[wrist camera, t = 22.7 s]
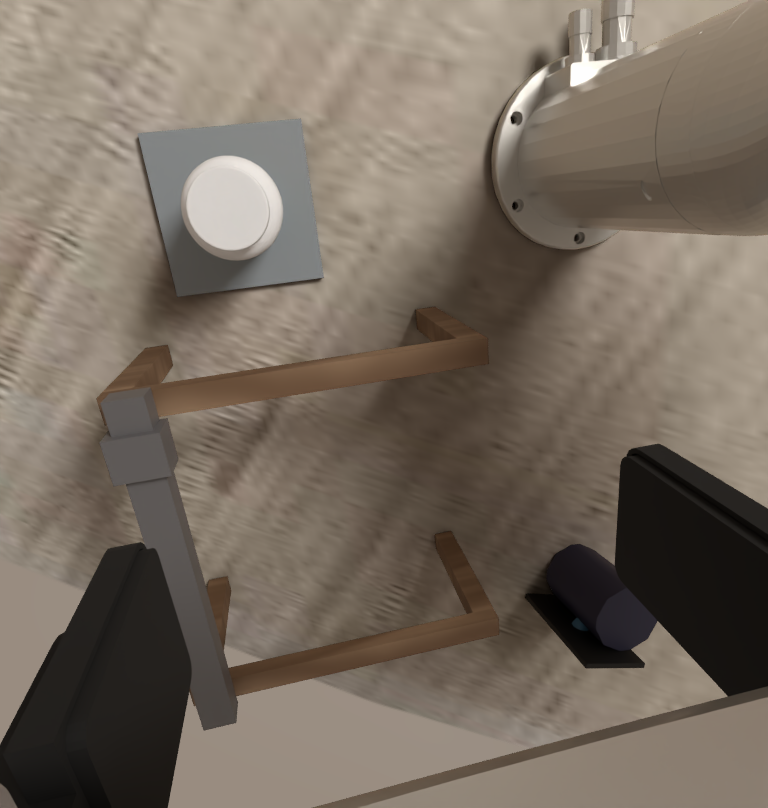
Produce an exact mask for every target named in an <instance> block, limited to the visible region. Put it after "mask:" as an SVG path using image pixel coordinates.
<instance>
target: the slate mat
mask: <svg viewBox="0 0 768 808" xmlns="http://www.w3.org/2000/svg"><path fill="white" fill-rule="evenodd" d="M138 137H139V141H140V145H141V149H142V153H143V157H144V162H145V166H146V170H147V174H148V178H149V182H150V186H151V190H152V195H153V199H154V203H155V207H156V211H157V215H158V219H159V223H160V227H161V232H162V236H163V240H164V244H165V248H166V252H167V256H168V260H169V265H170V269H171V273H172V277H173V281H174V285H175V289H176V293H177V297H180V296H188V295H196V294H203V293H211V292H218V291H226V290H233V289H241V288H249V287H256V286H264V285H271V284H279V283H287V282H294V281H302V280H309V279H317V278H324V276H323V269H322V262H321V255H320V248H319V241H318V234H317V227H316V220H315V214H314V207H313V200H312V193H311V186H310V179H309V172H308V165H307V158H306V151H305V144H304V137H303V130H302V123H301V119H291V120H280V121H269V122H258V123H247V124H236V125H225V126H214V127H203V128H192V129H181V130H170V131H159V132H148V133H138ZM218 156H237V157H241V158H244V159H247V160H249V161H251V162H253V163H255V164H257V165H258V166H259V167H261V168H262V169H263V170H264V171H265V172H266V173H267V174H268V175H269V176H270V177H271V178H272V180H273V181H274V183H275V184H276V186H277V188H278V190H279V193H280V196H281V199H282V204H283V221H282V226H281V229H280V232H279V234H278V236H277V238H276V240H275V241H274V243H273V244H272V245H271V246H270V247H269V248H268V249H267V250H266V251H264V252H263V253H262V254H260V255H258V256H256V257H253V258H251V259H247V260H239V261H235V260H226V259H222V258H219V257H217V256H214V255H212V254H211V253H209V252H207V251H206V250H204V249H203V248H202V247H201V246H200V245H199V244H198V243H197V242H196V241H195V240H194V239H193V238H192V236H191V235H190V233H189V231H188V230H187V228H186V225H185V223H184V220H183V217H182V211H181V194H182V190H183V187H184V184H185V182H186V180H187V178H188V176H189V175H190V173H191V172H192V171H193V170H194V169H195V168H196V167H197V166H199V165H200V164H201V163H203V162H204V161H206V160H208V159H211V158H214V157H218Z"/></svg>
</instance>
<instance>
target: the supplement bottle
mask: <svg viewBox="0 0 768 808" xmlns="http://www.w3.org/2000/svg"><path fill="white" fill-rule="evenodd" d="M181 211H182V217H183V220H184V223H185V225H186V228H187V230H188V231H189V233H190V235H191V236H192V238H193V239H194V240H195V241H196V242H197V243H198V244H199V245H200V246H201V247H202V248H203V249H204V250H206V251H207V252H209V253H211V254H212V255H214V256H217V257H219V258H222V259H226V260H235V261H239V260H247V259H251V258H253V257H256V256H258V255H260V254H262V253H263V252H264V251H266V250H267V249H268V248H269V247H270V246H271V245H272V244H273V243H274V241H275V240H276V238H277V236H278V234H279V232H280V229H281V226H282V221H283V204H282V199H281V196H280V193H279V190H278V188H277V186H276V184H275V183H274V181H273V180H272V178H271V177H270V176H269V175H268V174H267V173H266V172H265V171H264V170H263V169H262V168H261V167H259V166H258V165H257V164H255V163H253V162H251V161H249V160H247V159H244V158H241V157H237V156H218V157H214V158H211V159H208V160H206V161H204V162H203V163H201V164H200V165H199V166H197V167H196V168H195V169H194V170H193V171H192V172H191V173H190V175H189V176H188V178H187V180H186V182H185V184H184V187H183V190H182V194H181Z"/></svg>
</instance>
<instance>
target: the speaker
mask: <svg viewBox="0 0 768 808" xmlns="http://www.w3.org/2000/svg"><path fill="white" fill-rule="evenodd" d="M547 582H548V584H549V586H550V588H551V590H552V592H553V594H554V595H553V594H526V596H525V598H526V599H527V600H528V602H529V603H530V604H531V605H532V606H533V607H534V609H535V610H536V611H537V612H538V613H539V614H540V616H541V617H542V618H543V619H544V620H545V621H546V622H547V624H548V625H549V626H550V627H551V628H552V629H553V631H554V632H555V633H556V634H557V635H558V636H559V638H560V639H561V640H562V641H563V642H564V643H565V645H566V646H567V647H568V648H569V649H570V650H571V652H572V653H573V654H574V655H575V656H576V657H577V659H578V660H579V661H580V662H581V663H582V664H583V666H584V667H585V668H644V665H645V663H644V662H643V661H642V660H641V659H640V658H639V657H638V656H637V655H636V654H635V653H634V652H633V651H632V650H631V649H632V648H634V647H635V646H637V645H638V644H640V643H642V642H643V641H645V640H646V639H648V637H649V635H650V633H651V632H652V630H653V628H654V626H655V624H656V623H657V621H658V620H657V619H656V618H655V617H654V616H653V615H652V614H651V613H650V612H649V611H648V610H647V609H646V608H645V606H644V605H643V604H642V603H641V602H640V601H639V600H638V599H637V598H636V597H635V596H634V595H633V594H632V593H631V591H630V590H629V589H628V588H627V587H626V586H625V585H624V584H623V583H622V582H621V580H620V579H619V577H618V575H617V572H616V568H615V566H614V565H613V564H612V563H610V562H609V561H608V560H606V559H605V558H604V557H602V556H601V555H600V554H598V553H597V552H596V551H595V550H592V549H590V548H588V547H586V546H583V545H581V544H575V545H570V546H569V547H567V548H565V549H564V550H562V551H560V552H559V553H557V554H556V555H555V556H554V558H553V560H552V562H551V564H550V566H549V568H548V570H547Z"/></svg>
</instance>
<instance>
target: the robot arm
mask: <svg viewBox="0 0 768 808" xmlns="http://www.w3.org/2000/svg"><path fill="white" fill-rule="evenodd" d="M634 12H635V0H602V5H601V24H602V47H601V48H599V49H597V50H596V51H595V52H590V38H591V34H592V9H587V8H586V9H580V10H576V11H573V12H571V13H570V14H569V24H568V38H569V55H568V56H564V57H561V58H559V59H557V60H555V61H553V62H551V63H549V64H547V65H545V66H544V67H542V68H541V69H539V70H538V71H536V72H534V73H533V74H532V75H531V76H530V77H529V78H528V79H527V80H526V81H525V82H524V83H523V84H521V85H520V86H519V88H518V89H517V91H516V92H515V93H514V95H513V96H512V97H511V99H510V100H509V102H508V103H507V105H506V107H505V109H504V111H503V113H502V115H501V118H500V120H499V123H498V126H497V129H496V133H495V136H494V141H493V148H492V156H491V164H492V179H493V184H494V189H495V193H496V196H497V198H498V201H499V203H500V206H501V208H502V210H503V212H504V213H505V215H506V216H507V218H508V219H509V221H510V223H511V224H512V225H513V226H514V227H515V228H516V229H517V230H518V231H519V232H520V233H521V234H523V235H524V236H526V237H527V238H529V239H530V240H532V241H533V242H535V243H538V244H541V245H543V246H546V247H551V248H556V249H573V250H575V249H581V248H586V247H591V246H593V245H595V244H598V243H600V242H603V241H605V240H607V239H608V238H610V237H611V236H613V235H615V234H616V233H618V232H619V231H620V230H629V231H649V232H669V233H688V234H708V235H733V236H759V235H768V0H748V1H746V2H744V3H742V4H740V5H737V6H735V7H733V8H731V9H729V10H727V11H725V12H723V13H720V14H718V15H716V16H714V17H711V18H709V19H707V20H705V21H703V22H700V23H698V24H696V25H694V26H692V27H689V28H687V29H685V30H683V31H680V32H678V33H676V34H674V35H672V36H669V37H667V38H665V39H663V40H660V41H658V42H656V43H654V44H652V45H649V46H647V47H645V48H643V49H641V50H638V51H637V44H638V43H637V42H635V41H632V22H633V18H634ZM511 117H513V118H514V123H513V124H512V123H511V120H510V118H511ZM513 202H514V203H515V204H516V207H515V209H512V204H513ZM575 235H576V239H575V240H574V236H575ZM615 568H616V572H617V575H618V577H619V579H620V580H621V582H622V583H623V584H624V585H625V586H626V587H627V588H628V589H629V590H630V591H631V593H632V594H633V595H634V596H635V597H636V598H637V599H638V600H639V601H640V602H641V603H642V604H643V605H644V606H645V608H646V609H647V610H648V611H649V612H650V613H651V614H652V615H653V616H654V617H655V618H656V619H657V620H658V622H659V623H660V624H661V625H662V626H663V627H664V628H665V629H666V630H667V631H668V632H669V633H670V634H671V635H672V637H673V638H674V639H675V640H676V641H677V642H678V643H679V644H680V645H681V646H682V647H683V648H684V649H685V651H686V652H687V653H688V654H689V655H690V656H691V657H692V658H693V659H694V660H695V661H696V662H697V663H698V664H699V666H700V667H701V668H702V669H703V670H704V671H705V672H706V673H707V674H708V675H709V676H710V677H711V678H712V680H713V681H714V682H715V683H716V684H717V685H718V686H719V687H720V688H721V689H722V690H723V691H724V692H725V693H726V695H727V696H728V697H725V698H721V699H717V700H713V701H709V702H706V703H702V704H698V705H694V706H690V707H686V708H682V709H679V710H675V711H671V712H667V713H663V714H659V715H656V716H652V717H648V718H644V719H640V720H636V721H633V722H629V723H625V724H621V725H617V726H614V727H610V728H606V729H602V730H599V731H595V732H591V733H587V734H584V735H580V736H576V737H572V738H568V739H565V740H561V741H557V742H553V743H550V744H546V745H542V746H538V747H535V748H531V749H527V750H523V751H520V752H516V753H512V754H509V755H505V756H501V757H498V758H494V759H490V760H486V761H482V762H479V763H475V764H472V765H468V766H464V767H460V768H456V769H453V770H449V771H445V772H442V773H438V774H435V775H431V776H427V777H423V778H420V779H416V780H412V781H409V782H405V783H401V784H398V785H394V786H390V787H387V788H383V789H379V790H376V791H372V792H369V793H365V794H361V795H357V796H354V797H350V798H346V799H343V800H339V801H335V802H332V803H328V804H324V805H321V806H317V807H313V808H768V509H767V508H766V507H764V506H762V505H761V504H759V503H757V502H756V501H754V500H753V499H751V498H749V497H748V496H746V495H744V494H743V493H741V492H739V491H738V490H736V489H734V488H733V487H731V486H729V485H728V484H726V483H724V482H723V481H721V480H719V479H718V478H716V477H714V476H713V475H711V474H709V473H708V472H706V471H704V470H703V469H701V468H700V467H698V466H696V465H695V464H693V463H691V462H690V461H688V460H686V459H685V458H683V457H681V456H680V455H678V454H676V453H675V452H673V451H671V450H670V449H668V448H666V447H665V446H663V445H660V444H654V445H649V446H643V447H638V448H633V449H631V450H629V452H628V454H627V457H624V458H623V459H622V461H621V465H620V483H619V500H618V518H617V535H616V553H615ZM191 678H192V666H191V660H190V656H189V652H188V649H187V646H186V643H185V639H184V636H183V633H182V630H181V626H180V623H179V620H178V617H177V613H176V610H175V607H174V604H173V600H172V597H171V594H170V591H169V587H168V584H167V581H166V578H165V574H164V571H163V568H162V565H161V561H160V558H159V555H158V553H157V551H156V549H155V548H150V549H147V548H146V546H145V545H144V544H143V543H141V542H140V543H135V544H129V545H124V546H119V547H114V548H110V549H108V550H107V551H106V552H105V554H104V556H103V558H102V560H101V562H100V564H99V566H98V568H97V570H96V572H95V574H94V576H93V578H92V580H91V582H90V584H89V586H88V588H87V590H86V592H85V594H84V595H83V598H82V600H81V601H80V603H79V605H78V607H77V609H76V611H75V613H74V615H73V617H72V619H71V621H70V623H69V625H68V627H67V629H66V631H65V632H64V633H62V634H61V635H59V636H58V637H57V639H56V640H55V642H54V643H53V645H52V647H51V649H50V650H49V652H48V654H47V656H46V658H45V660H44V662H43V664H42V666H41V668H40V670H39V671H38V673H37V675H36V677H35V679H34V681H33V683H32V685H31V687H30V689H29V691H28V692H27V694H26V696H25V699H24V700H23V702H22V704H21V706H20V708H19V710H18V712H17V714H16V716H15V718H14V719H13V721H12V723H11V725H10V727H9V729H8V731H7V733H6V735H5V737H4V738H3V740H2V742H1V744H0V808H168V803H169V797H170V792H171V786H172V781H173V776H174V770H175V765H176V760H177V754H178V748H179V743H180V738H181V733H182V727H183V722H184V716H185V711H186V706H187V700H188V695H189V690H190V684H191Z"/></svg>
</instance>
